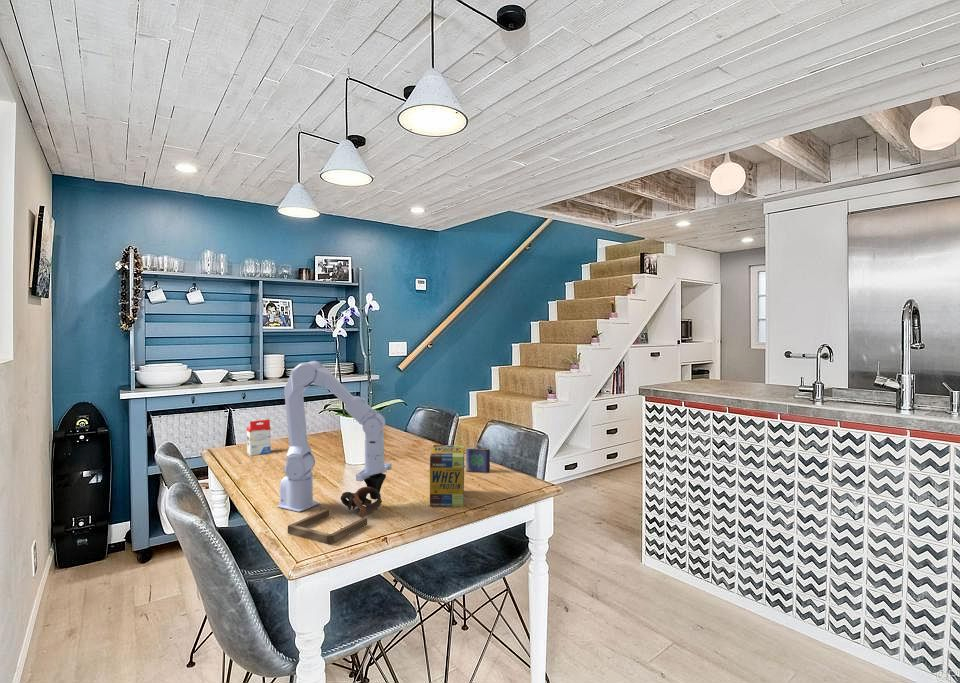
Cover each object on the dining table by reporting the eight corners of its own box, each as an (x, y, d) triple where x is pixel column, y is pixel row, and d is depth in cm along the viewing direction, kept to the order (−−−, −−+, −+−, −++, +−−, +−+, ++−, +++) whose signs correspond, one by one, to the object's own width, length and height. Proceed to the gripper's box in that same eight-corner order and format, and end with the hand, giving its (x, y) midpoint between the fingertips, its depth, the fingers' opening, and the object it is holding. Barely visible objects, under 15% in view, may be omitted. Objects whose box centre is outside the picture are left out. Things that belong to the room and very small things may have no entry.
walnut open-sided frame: (287, 533, 131) (287, 525, 130) (326, 515, 143) (326, 508, 143) (330, 544, 124) (330, 536, 124) (367, 525, 136) (367, 517, 136)
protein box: (429, 507, 150) (429, 456, 150) (433, 490, 166) (433, 444, 165) (463, 507, 151) (464, 456, 150) (464, 490, 166) (464, 444, 166)
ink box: (267, 450, 218) (267, 417, 218) (270, 453, 214) (270, 419, 214) (246, 453, 213) (246, 419, 212) (249, 456, 209) (249, 421, 209)
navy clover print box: (465, 471, 188) (465, 443, 187) (466, 469, 191) (467, 442, 190) (489, 473, 186) (489, 445, 186) (490, 471, 189) (490, 443, 189)
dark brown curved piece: (380, 506, 152) (385, 486, 149) (374, 530, 144) (380, 510, 140) (341, 497, 150) (345, 478, 147) (333, 522, 142) (338, 502, 138)
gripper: (369, 461, 142) (369, 508, 142) (399, 450, 155) (399, 493, 155) (350, 458, 145) (350, 504, 145) (381, 447, 158) (381, 490, 158)
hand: (374, 498), depth 151 cm, fingers closed
